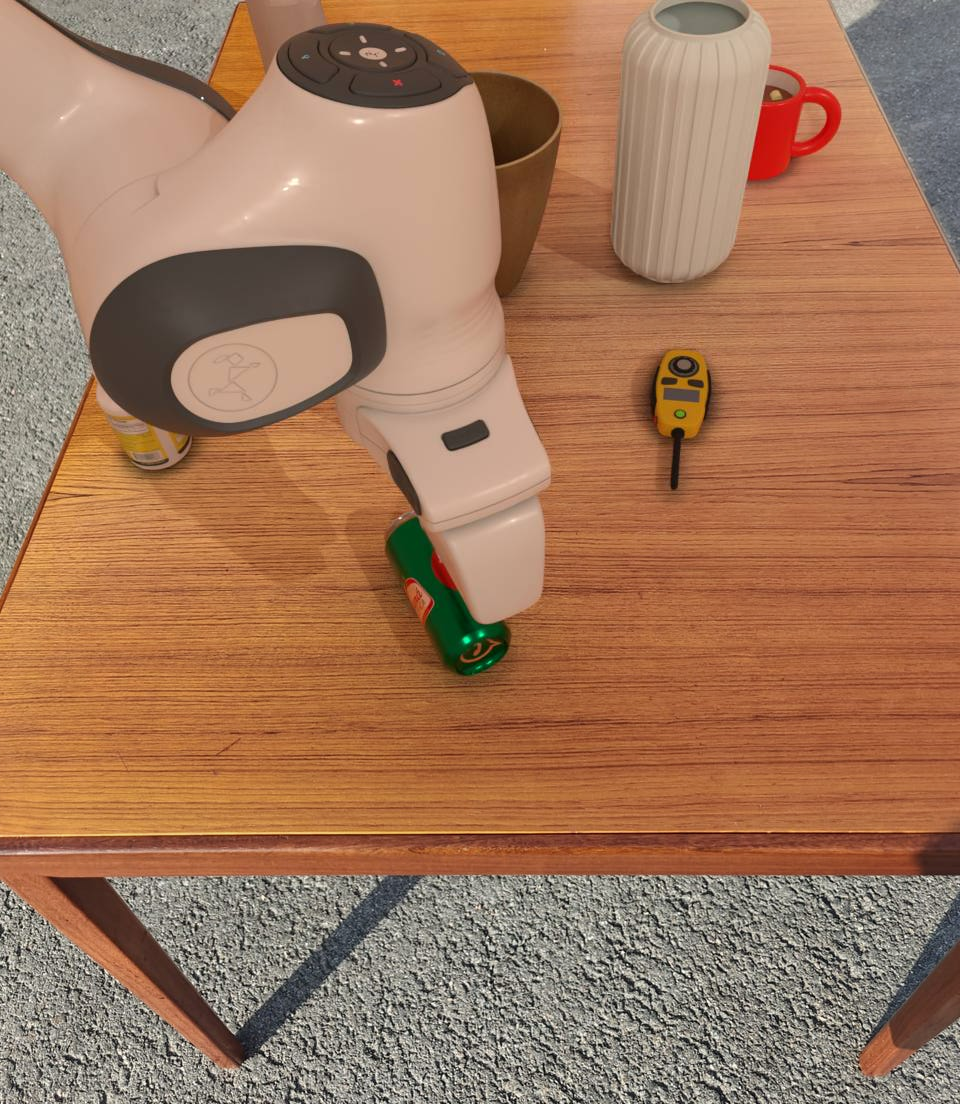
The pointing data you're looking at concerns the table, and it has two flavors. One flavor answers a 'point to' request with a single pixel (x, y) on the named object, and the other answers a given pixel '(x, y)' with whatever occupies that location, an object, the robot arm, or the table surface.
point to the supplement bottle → (142, 436)
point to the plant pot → (519, 161)
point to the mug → (788, 122)
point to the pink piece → (282, 22)
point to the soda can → (442, 602)
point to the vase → (686, 134)
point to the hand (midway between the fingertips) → (443, 539)
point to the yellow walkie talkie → (680, 399)
